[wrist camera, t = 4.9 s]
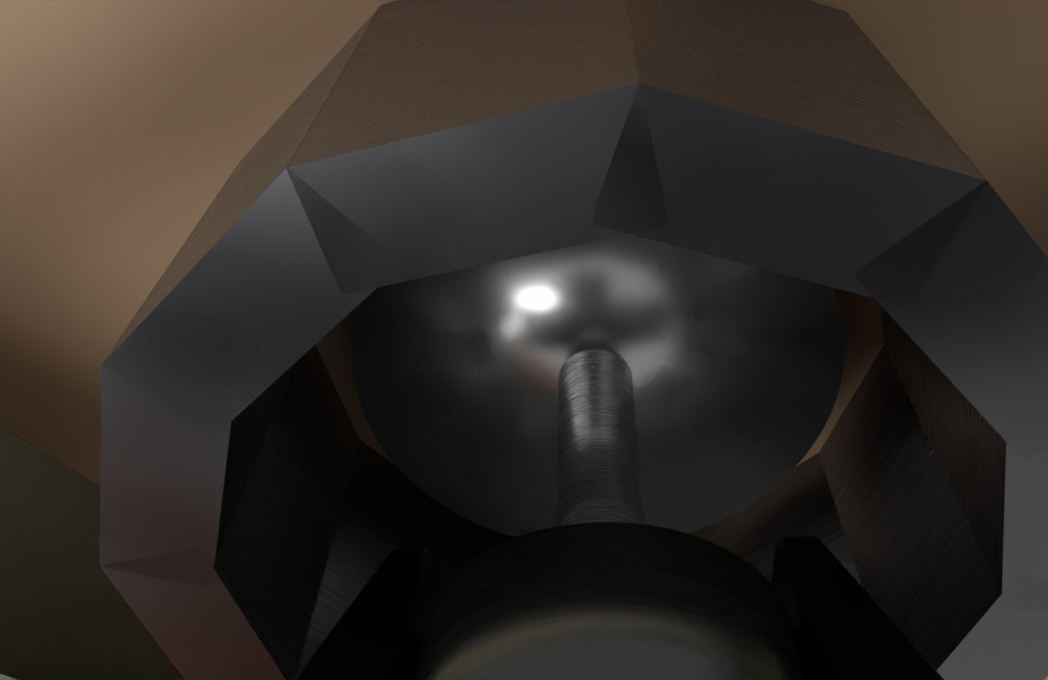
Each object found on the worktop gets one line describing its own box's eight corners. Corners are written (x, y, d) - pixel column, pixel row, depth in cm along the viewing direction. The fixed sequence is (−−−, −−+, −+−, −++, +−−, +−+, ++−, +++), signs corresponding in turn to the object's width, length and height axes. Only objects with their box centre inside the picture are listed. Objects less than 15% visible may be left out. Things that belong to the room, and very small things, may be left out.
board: (1469, 505, 16) (1508, 540, 15) (712, 830, 23) (717, 864, 22) (568, -977, 7) (568, -1041, 7) (-204, 249, 14) (-242, 278, 14)
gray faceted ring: (1192, 451, 14) (1405, 716, 11) (665, 718, 19) (689, 971, 15) (626, -268, 9) (663, -235, 6) (91, 326, 14) (-83, 560, 10)
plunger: (929, 362, 13) (1193, 861, 8) (581, 577, 16) (588, 1057, 10) (612, 17, 11) (661, 386, 5) (266, 345, 13) (53, 816, 8)
